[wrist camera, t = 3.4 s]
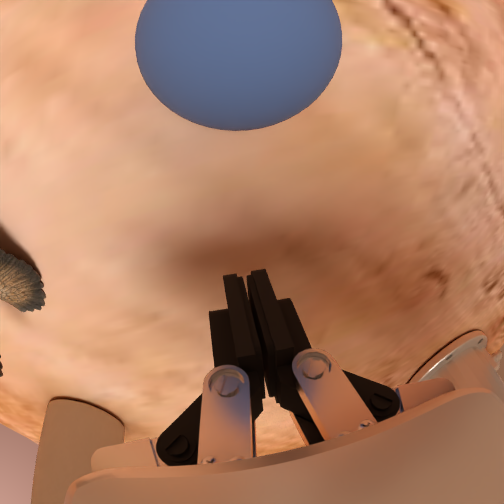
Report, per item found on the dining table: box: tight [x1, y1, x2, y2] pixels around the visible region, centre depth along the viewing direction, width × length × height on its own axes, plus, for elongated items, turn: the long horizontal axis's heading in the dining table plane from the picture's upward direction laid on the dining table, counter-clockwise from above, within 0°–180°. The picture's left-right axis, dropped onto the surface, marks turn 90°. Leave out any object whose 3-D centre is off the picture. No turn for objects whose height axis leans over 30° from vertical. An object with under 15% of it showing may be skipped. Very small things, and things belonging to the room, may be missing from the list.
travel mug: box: [31, 399, 124, 504], centre depth 13 cm, size 8×8×18 cm
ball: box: [135, 0, 342, 131], centre depth 7 cm, size 6×6×6 cm
